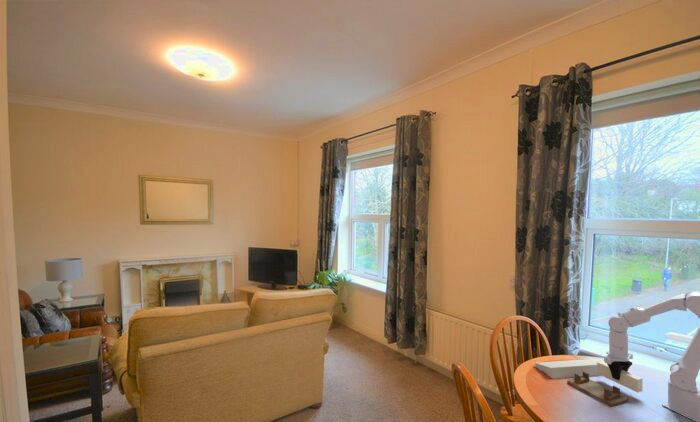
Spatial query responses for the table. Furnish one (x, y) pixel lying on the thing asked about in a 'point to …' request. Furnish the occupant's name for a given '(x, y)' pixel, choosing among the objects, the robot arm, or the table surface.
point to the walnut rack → (597, 390)
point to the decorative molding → (569, 368)
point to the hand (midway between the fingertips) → (618, 378)
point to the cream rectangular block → (621, 377)
